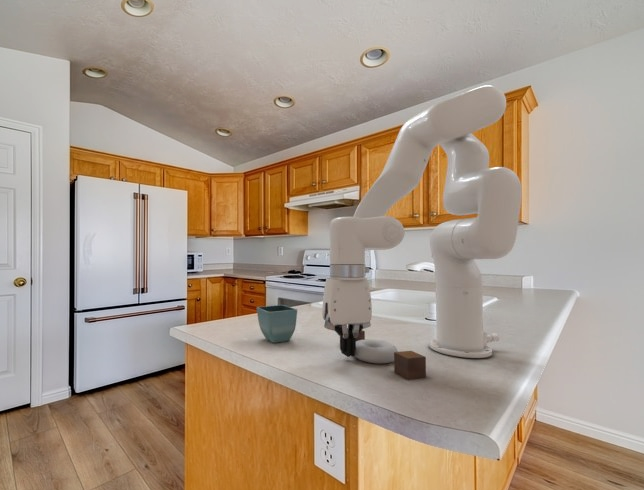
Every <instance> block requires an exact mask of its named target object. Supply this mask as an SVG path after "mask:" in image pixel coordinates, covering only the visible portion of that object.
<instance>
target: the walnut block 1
mask: <svg viewBox="0 0 644 490" xmlns="http://www.w3.org/2000/svg"><path fill="white" fill-rule="evenodd" d="M347 329H348V327H347ZM365 332H366V331H365V330H364V329H362V330H361V331H360V333H359V334H358V337H357V338H356V341H359V340H365V339H366V333H365Z"/></svg>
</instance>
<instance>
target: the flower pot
mask: <svg viewBox="0 0 644 490" xmlns="http://www.w3.org/2000/svg"><path fill="white" fill-rule="evenodd" d="M256 315H257V321H258V326H259V329H260V331H261V333H262V335H263V337H264V338H265V339H266V340H267V341H269V342H271V343H272V344H275V343H282V342H289V341H290V340H291V338H292V337H293V335H294V333H295V331H296V327H297V318H298V309H297V308H294V307H291V306H288V305H285V304H276V305H275V304H274V305H266V306H257V307H256Z"/></svg>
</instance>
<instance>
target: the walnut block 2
mask: <svg viewBox="0 0 644 490" xmlns="http://www.w3.org/2000/svg"><path fill="white" fill-rule="evenodd" d="M393 369H394V371H393V372H394V373H395V374H397V375H400V377H402V378H404V379H406V380H417V379H425V378H427V357H426V356H425V355H422V354H421V353H418V352H415V351H413V350H402V351H398V352H394V361H393Z"/></svg>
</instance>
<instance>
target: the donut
mask: <svg viewBox="0 0 644 490" xmlns="http://www.w3.org/2000/svg"><path fill="white" fill-rule="evenodd" d="M394 352H399V351H398V348H397V346H395V345H394V344H393V343H391V342H388V341H385V340H381V339H373V338H371V339H370V338H369V339H367V338H365V340H359V341H356V351H355V356H354V358H355V359H357V360H359V361H362V362H364V363H370V364H377V365H378V364H379V365H380V364H381V365H382V364H383V365H385V364H389V363H392V362H393V363H394Z"/></svg>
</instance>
